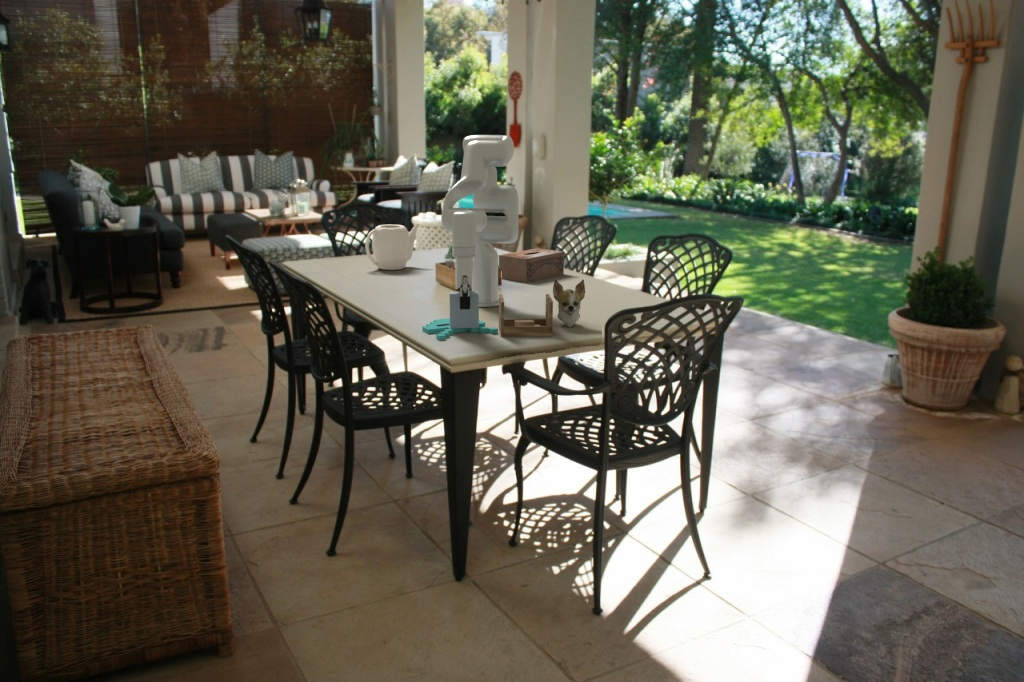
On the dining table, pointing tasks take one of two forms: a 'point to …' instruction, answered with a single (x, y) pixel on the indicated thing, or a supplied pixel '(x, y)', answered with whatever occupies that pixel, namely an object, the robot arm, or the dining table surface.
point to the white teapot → (391, 246)
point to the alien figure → (445, 330)
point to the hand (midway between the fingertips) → (464, 305)
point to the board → (464, 311)
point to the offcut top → (523, 323)
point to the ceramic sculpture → (569, 302)
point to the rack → (508, 324)
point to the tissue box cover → (531, 265)
